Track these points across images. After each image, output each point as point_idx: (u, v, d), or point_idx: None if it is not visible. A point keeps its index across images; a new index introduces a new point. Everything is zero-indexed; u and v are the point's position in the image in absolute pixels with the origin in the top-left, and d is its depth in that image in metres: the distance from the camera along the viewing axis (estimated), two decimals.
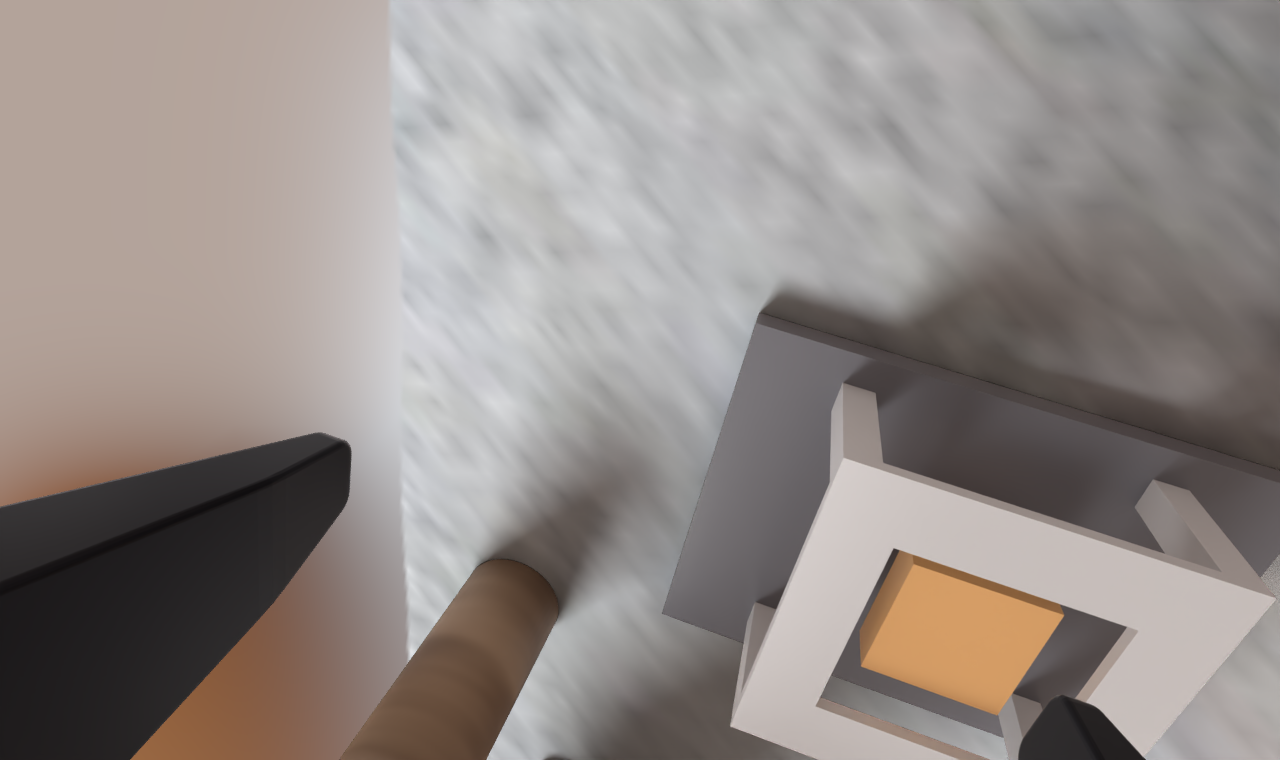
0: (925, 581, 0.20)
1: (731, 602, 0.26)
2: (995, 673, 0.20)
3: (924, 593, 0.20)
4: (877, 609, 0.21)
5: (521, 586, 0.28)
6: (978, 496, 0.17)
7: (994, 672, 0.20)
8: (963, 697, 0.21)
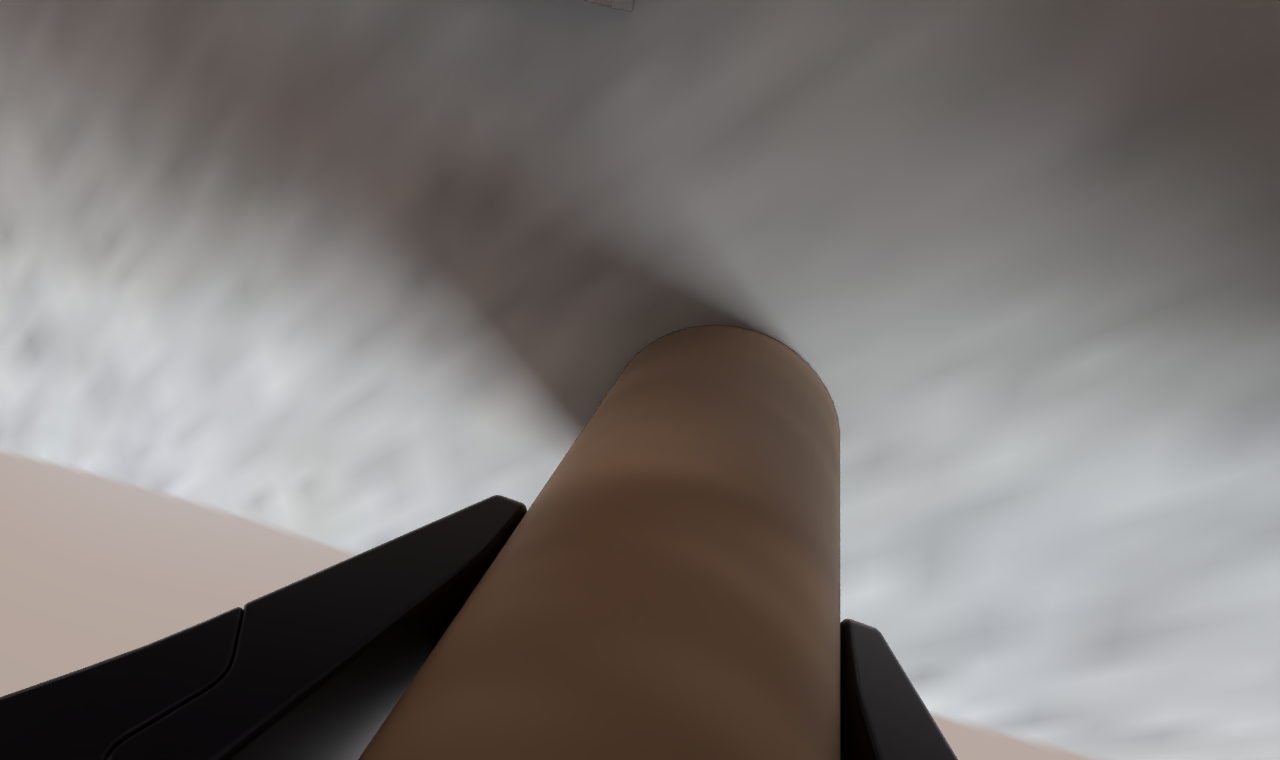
0: None
1: None
2: None
3: None
4: None
5: None
6: None
7: None
8: None
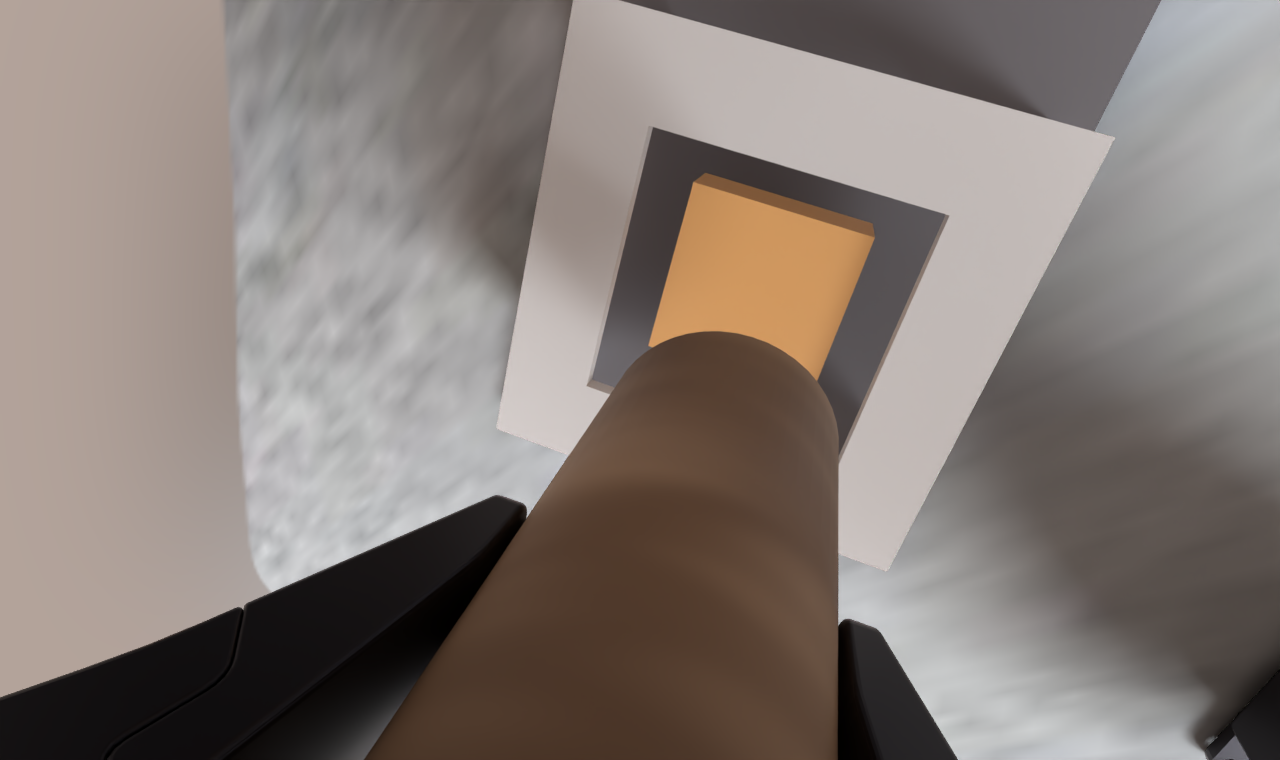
0: (669, 332, 0.17)
1: None
2: (798, 247, 0.16)
3: (686, 333, 0.17)
4: None
5: None
6: None
7: (796, 248, 0.16)
8: (847, 282, 0.16)
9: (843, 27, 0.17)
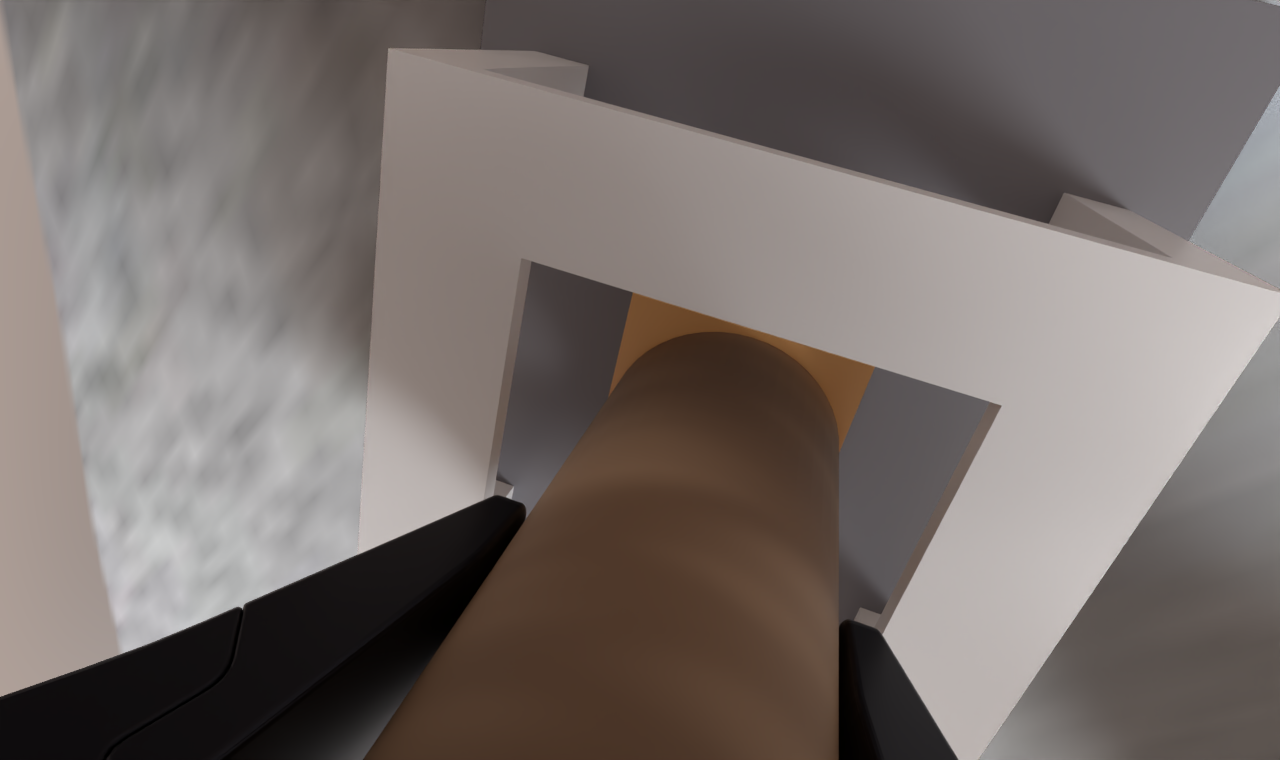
0: None
1: None
2: None
3: None
4: None
5: None
6: None
7: None
8: (839, 421, 0.12)
9: (826, 80, 0.12)
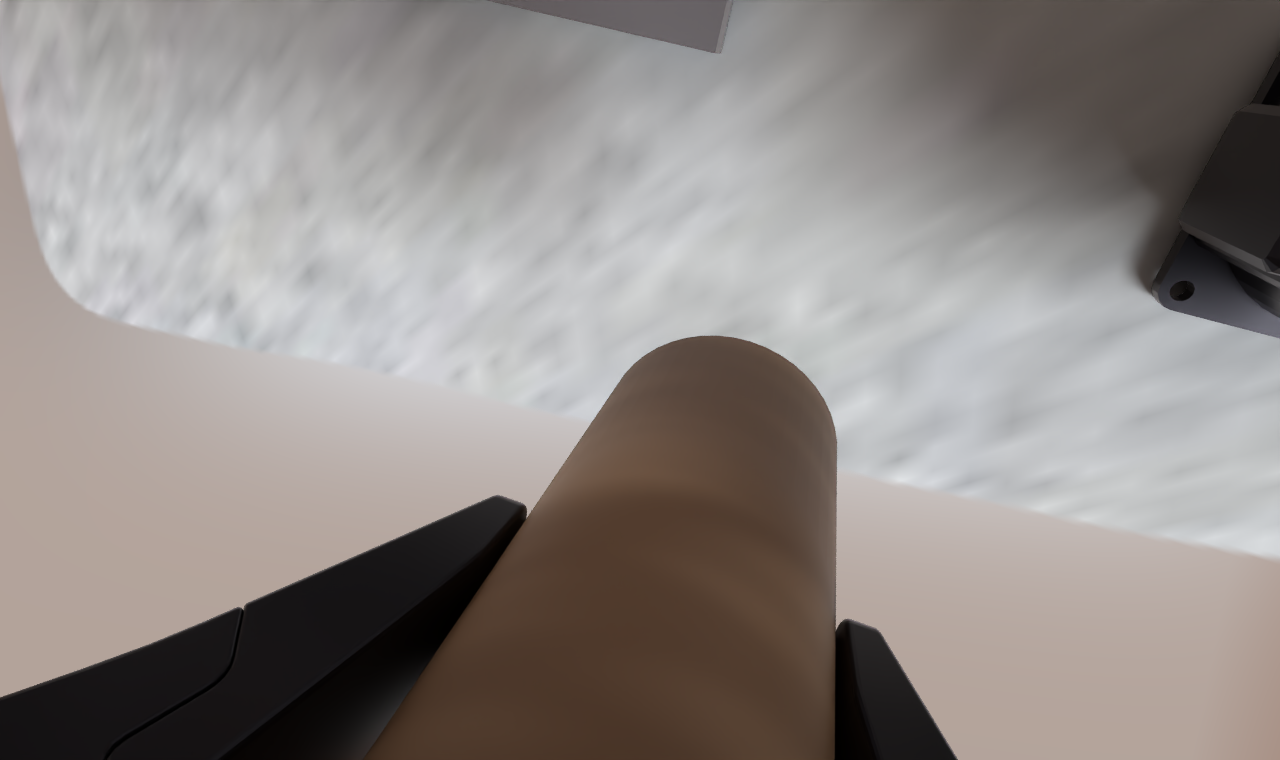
0: None
1: None
2: None
3: None
4: None
5: None
6: None
7: None
8: None
9: None
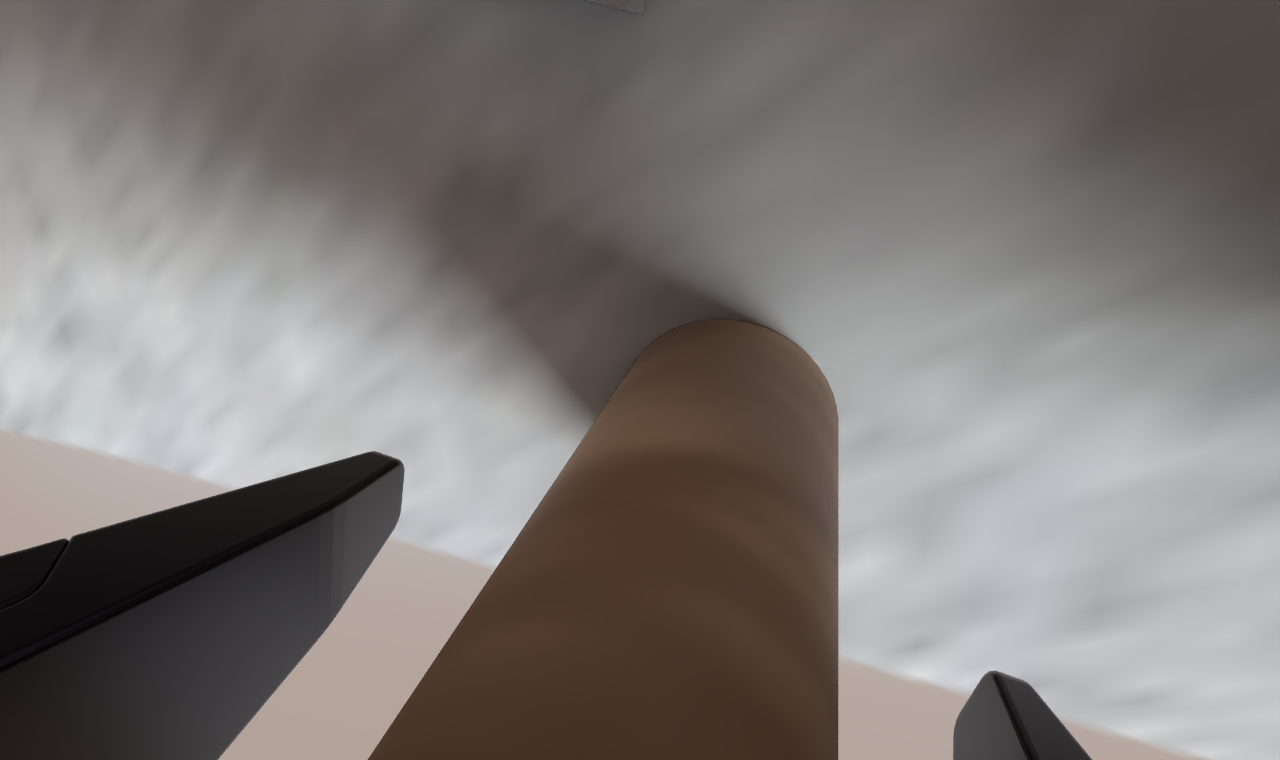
0: None
1: None
2: None
3: None
4: None
5: None
6: None
7: None
8: None
9: None
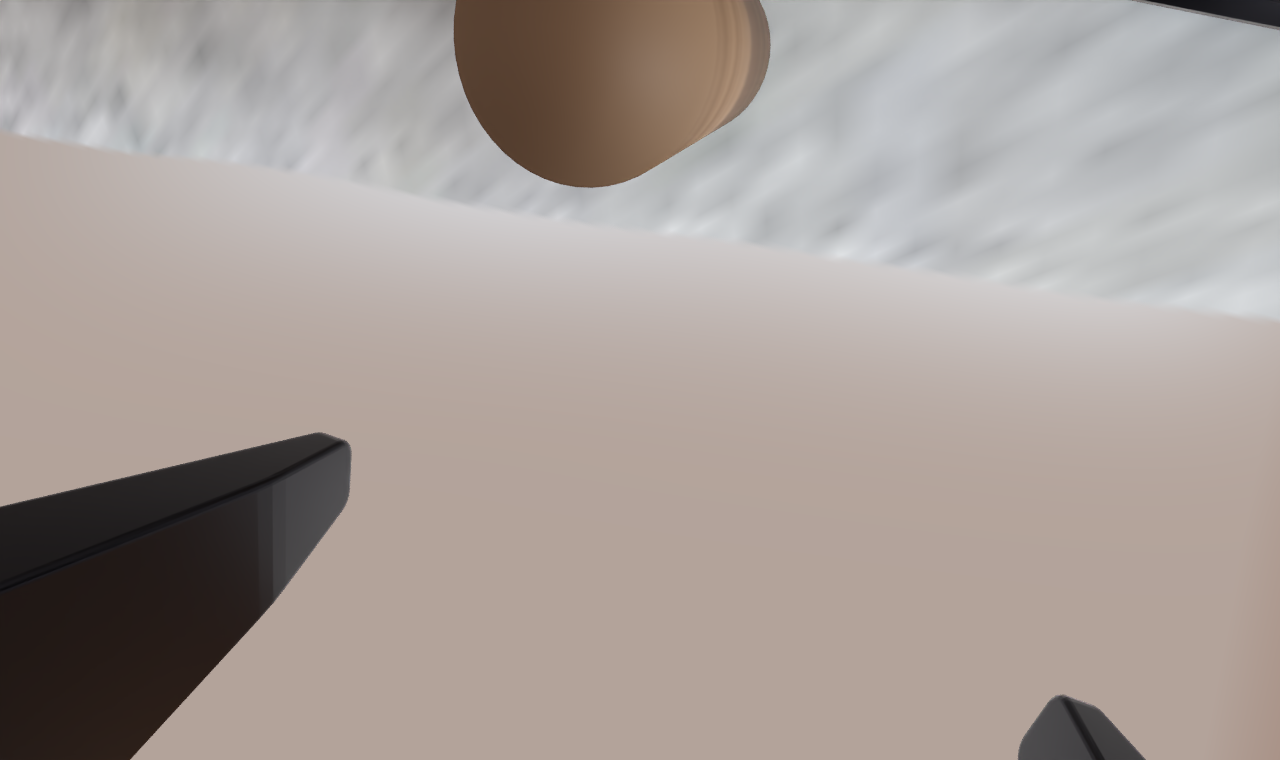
0: None
1: None
2: None
3: None
4: None
5: None
6: None
7: None
8: None
9: None
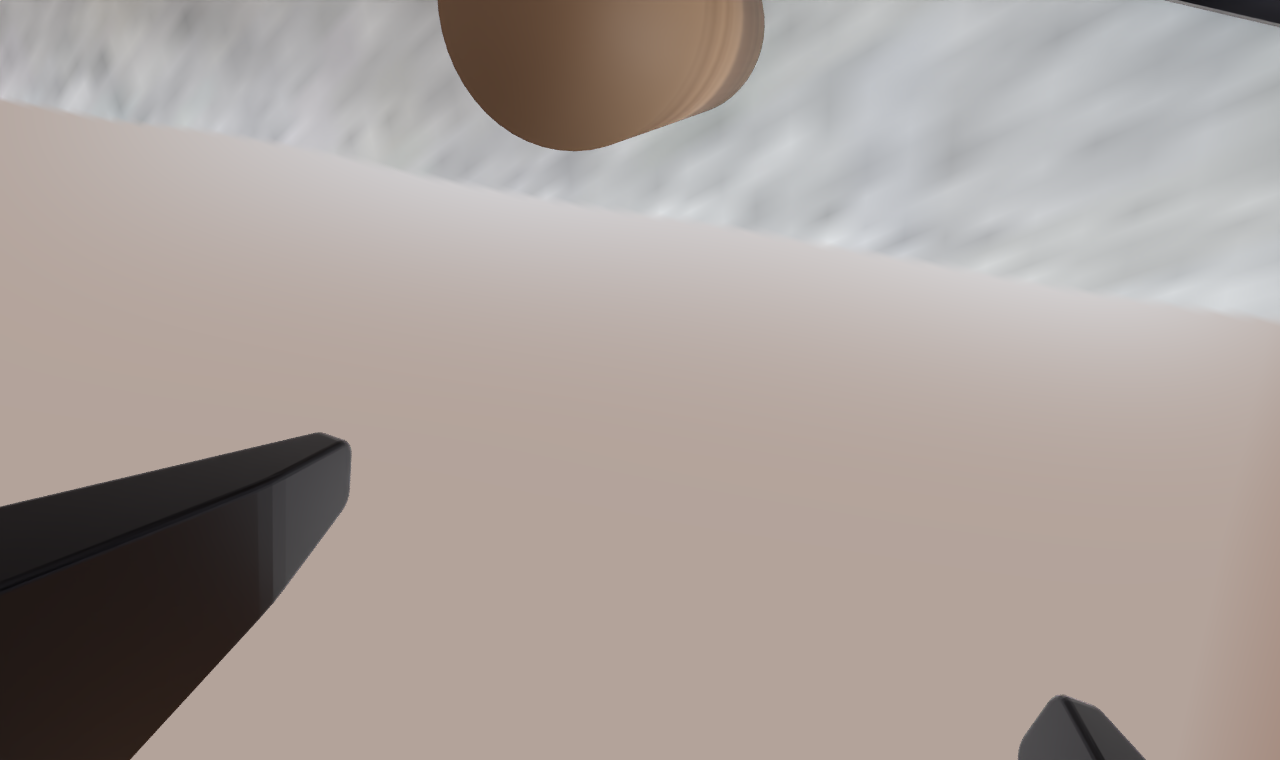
0: None
1: None
2: None
3: None
4: None
5: None
6: None
7: None
8: None
9: None
